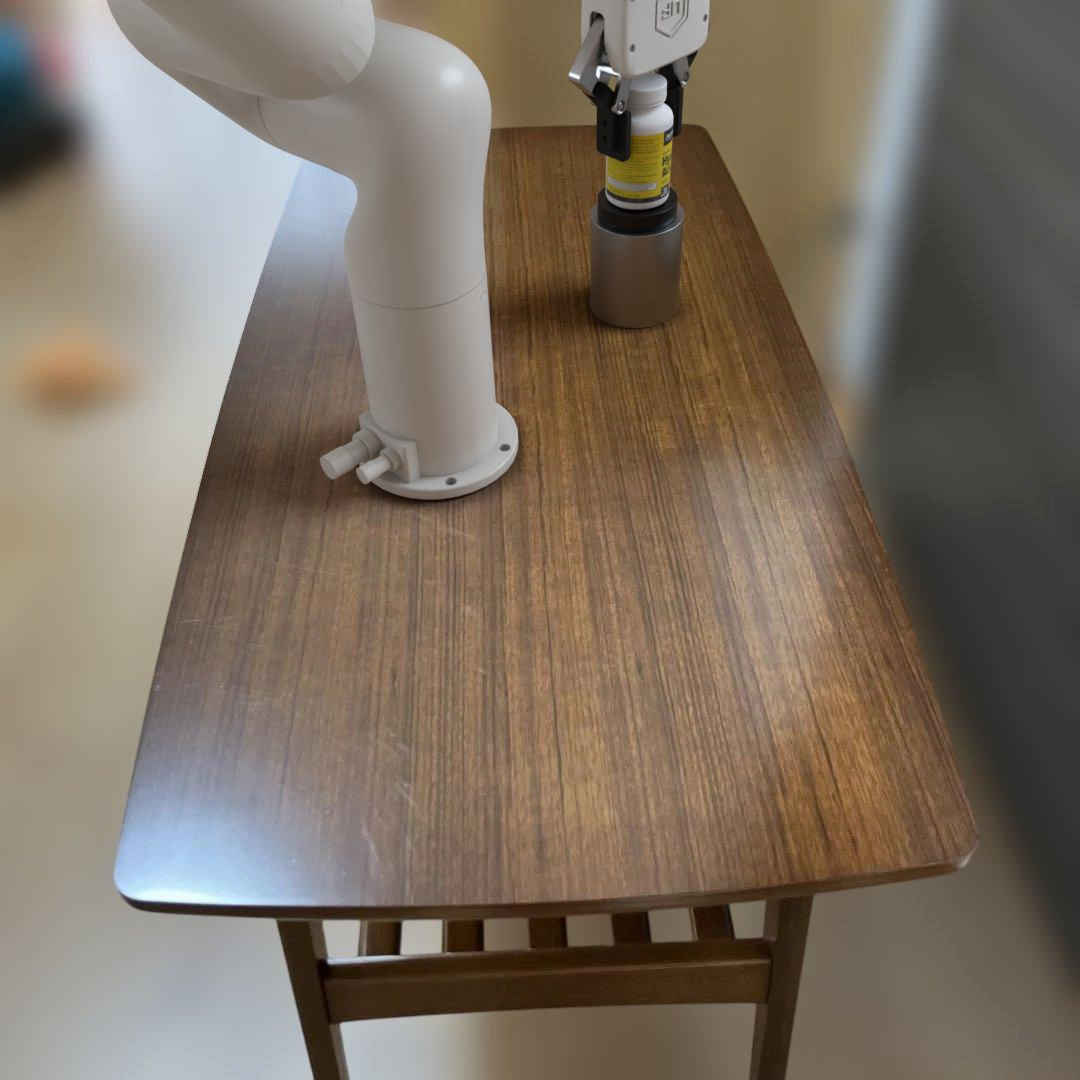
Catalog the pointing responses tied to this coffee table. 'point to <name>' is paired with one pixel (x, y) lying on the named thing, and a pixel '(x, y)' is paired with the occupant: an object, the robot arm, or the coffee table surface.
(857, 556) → the coffee table surface
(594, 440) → the coffee table surface
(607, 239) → the canister
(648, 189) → the supplement bottle
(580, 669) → the coffee table surface
